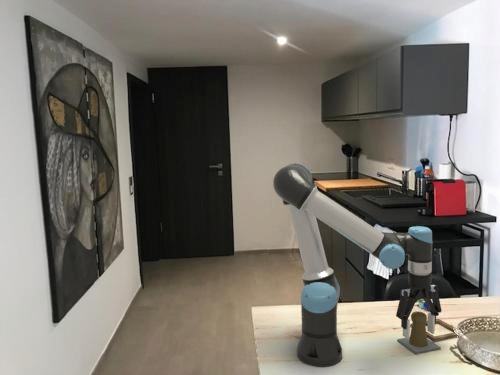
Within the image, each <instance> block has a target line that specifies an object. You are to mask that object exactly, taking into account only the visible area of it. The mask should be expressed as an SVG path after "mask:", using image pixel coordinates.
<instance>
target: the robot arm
mask: <svg viewBox="0 0 500 375" xmlns="http://www.w3.org/2000/svg"><path fill="white" fill-rule="evenodd" d="M272 182H273V185H272V186H273V189H274V192H275V193H276V195H277V196H278V197H279V198H280V199H282V204H283V206H285V207H286V208H288V210H289V213H290V218H291V222H292V226H293V229H294V233H295V237H296V242H297V246H298V250H299V253H300V257H301V261H302V265H303V269H304V273H303V274H302V275H301V276H302V277H301V278H302V283H303V287H302V289H301V293H300V305H301V308H300V309H301V312H300V313H301V334H300V337H299V339H298V342H297V343H298V344H297V347H296V356H297V359H299V360H300V361H301V362H303V363H304V364H306V365H309V366H313V367H329V366H334V365H336V364H338V363H340V361H342V359H343V348H342V345H341V341H340V339H339V336H338V331H337V330H338V328H337V327H338V324H337V322H338V318H337V317H338V316H337V315H338V314H337V313H338V306H339V304H338V303H339V298H340V295H341V287H340V285H339V281H338V280H337V278H336V275H335V272H334V269H333V268H331V267H330V266H329V265H328V261H327V257H326V252H325V249H324V244H323V241H322V236H321V233H320V229H319V224H318V221H317V219H318V220H320V221H321V222H323V223H324V224H325V225H326V226H328V227H330V228H331V229H333V230H334V231H336V232H338V233H339V234H340V235H342V236H344V237H345V238H346V239H348V240H349V241H351V242H352V243H354V244H355V245H357V246H358V247H360V248H361V249H363V250H364V251H366V252H368V254H371V255H372V256H373V257H375V258H377V260H379V262H380V263H381V265H382V266H383V267H385V268H387V269H390V270H396V269H399V268H401V267H402V265H404V262H405V258H406V256H408V258H407V271H408V272H407V282H408V287H407V288H406V289H403V288H401V289H400V291H399V294H400V298H399V301H398V305H397V310H396V312H395V316H396V318H398V319H400V320H401V324H400V325H401V328H402V336H403V338H407V339H410V334H411V327H410V324H411V319H409V318H410V317H411V314H412V312H413V309H414V306H415V304H417V303H418V302H417V301H418V300H420V299H424V301H423V302H425V303H426V305H427V307H428V311H429V312H427V321H428V323H427V326H426V327H427V328H426V331H427V332H428V333H430V334H432V335H434V334H435V330H436V329H435V327H436V326H435V325H436V324H435V323H436V319H437V317H438V316H439V315H440V314H439V313H442V307H441V301H440V296H439V286H438V285H435V284H433V283H432V279H433V278H432V276H433V275H432V270H433V269H432V267H433V266H432V265H433V263H432V262H433V243H434V242H433V231H432V229H430V228H429V227H427V226H419V225H416V226H411V227H409V228H408V230H407V231H408V232H387V231H385V232H384V231H379V230H378V229H377V228H375V227H373V226H372V225H371V224H369V223H367V222H366V221H365V220H363V219H362V218H360V217H359V216H357V215H355V214H354V213H353V212H351V211H349V210H348V209H347V208H345V207H344V206H342V205H341V204H339V203H337V202H336V201H335V200H333V199H331V198H330V197H328V196H327V195H326V194H323V193H322V192H320V191H319V190H318V186H317V185H316V184H314V183H313V175H312V173H311V171H310V170H309V168H307V167H306V166H305V165H303V164H300V163H296V162H295V163H290V164H287V165H285V166H284V167H282V168H280V169H279V170H278V171H277V172H276V173H275V175H274V176H273V180H272Z"/></svg>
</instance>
